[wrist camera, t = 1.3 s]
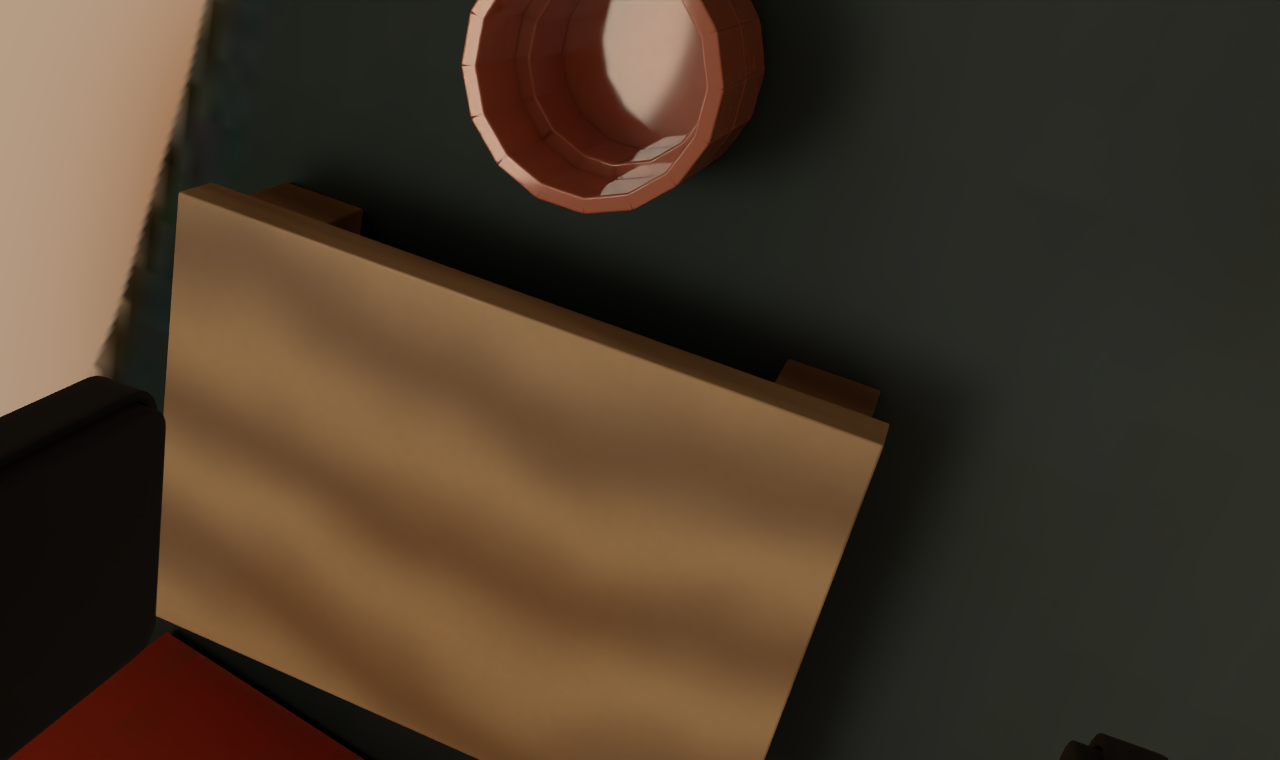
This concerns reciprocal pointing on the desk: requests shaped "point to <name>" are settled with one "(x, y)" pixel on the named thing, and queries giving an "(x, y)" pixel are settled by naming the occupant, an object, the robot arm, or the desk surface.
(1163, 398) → the desk surface
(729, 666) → the oak riser board
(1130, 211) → the desk surface
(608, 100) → the dip bowl
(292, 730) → the file binder
